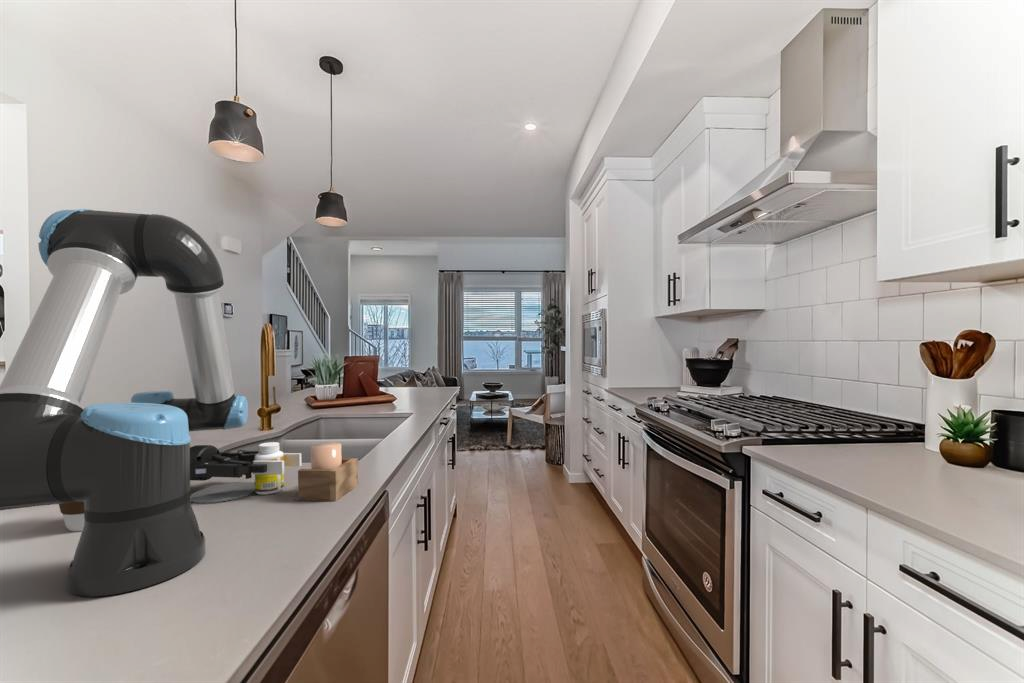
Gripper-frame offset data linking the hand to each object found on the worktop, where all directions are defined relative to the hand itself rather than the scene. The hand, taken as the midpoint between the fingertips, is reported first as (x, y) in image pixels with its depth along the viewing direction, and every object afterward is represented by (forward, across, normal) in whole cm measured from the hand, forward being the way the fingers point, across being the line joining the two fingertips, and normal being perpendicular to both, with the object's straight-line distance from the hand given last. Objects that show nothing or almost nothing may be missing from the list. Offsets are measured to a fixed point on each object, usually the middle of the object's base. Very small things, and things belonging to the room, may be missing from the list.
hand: (292, 463), depth 97 cm
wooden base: (+8, 0, -6) cm, 10 cm away
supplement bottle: (-5, 0, -6) cm, 8 cm away
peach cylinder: (+8, 0, -6) cm, 10 cm away
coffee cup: (-26, +19, -6) cm, 33 cm away
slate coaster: (-14, +2, -6) cm, 16 cm away
